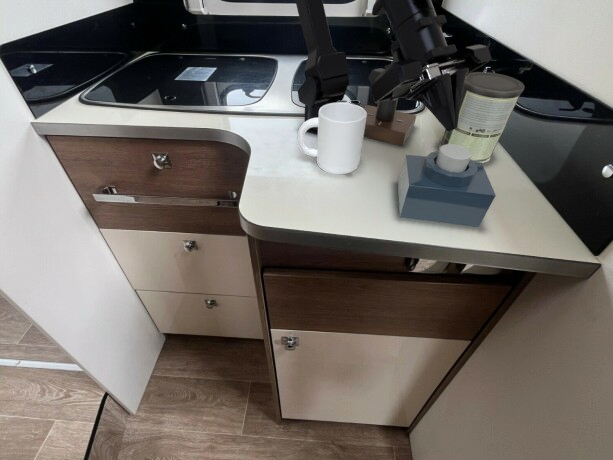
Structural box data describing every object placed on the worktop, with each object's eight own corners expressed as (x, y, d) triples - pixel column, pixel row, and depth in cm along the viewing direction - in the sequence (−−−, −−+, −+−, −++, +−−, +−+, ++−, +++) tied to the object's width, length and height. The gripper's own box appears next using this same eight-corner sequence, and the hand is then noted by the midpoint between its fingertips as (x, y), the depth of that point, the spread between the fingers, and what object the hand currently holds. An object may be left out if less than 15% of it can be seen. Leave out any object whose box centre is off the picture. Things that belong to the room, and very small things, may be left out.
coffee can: (428, 143, 68) (450, 73, 58) (468, 137, 70) (495, 69, 61) (459, 168, 61) (489, 94, 51) (502, 161, 63) (539, 88, 54)
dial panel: (349, 133, 71) (351, 119, 69) (364, 116, 77) (366, 104, 75) (402, 146, 67) (405, 132, 65) (413, 127, 73) (416, 114, 71)
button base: (399, 217, 50) (412, 174, 45) (397, 185, 57) (408, 144, 51) (478, 227, 49) (501, 184, 43) (467, 193, 55) (486, 152, 50)
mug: (296, 174, 58) (296, 120, 51) (297, 151, 64) (298, 101, 57) (361, 176, 58) (369, 123, 51) (356, 153, 64) (364, 102, 57)
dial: (390, 123, 68) (395, 100, 65) (373, 119, 69) (376, 96, 66) (395, 116, 71) (400, 94, 67) (378, 112, 72) (382, 90, 69)
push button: (437, 171, 46) (442, 157, 44) (433, 156, 49) (438, 142, 48) (468, 174, 46) (474, 160, 44) (463, 159, 49) (468, 145, 47)
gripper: (417, 50, 55) (448, 134, 56) (332, 67, 47) (370, 164, 48) (474, 2, 45) (510, 106, 46) (378, 13, 37) (425, 138, 38)
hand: (452, 130), depth 45 cm, fingers closed
